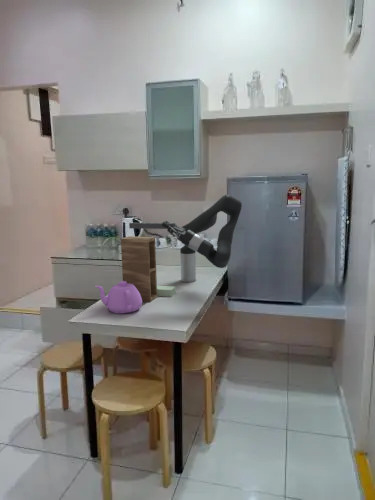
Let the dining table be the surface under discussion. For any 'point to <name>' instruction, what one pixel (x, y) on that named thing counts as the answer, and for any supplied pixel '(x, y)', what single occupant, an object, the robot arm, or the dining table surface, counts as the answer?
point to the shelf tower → (140, 265)
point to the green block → (166, 291)
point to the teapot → (121, 298)
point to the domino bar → (149, 225)
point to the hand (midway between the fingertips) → (163, 222)
